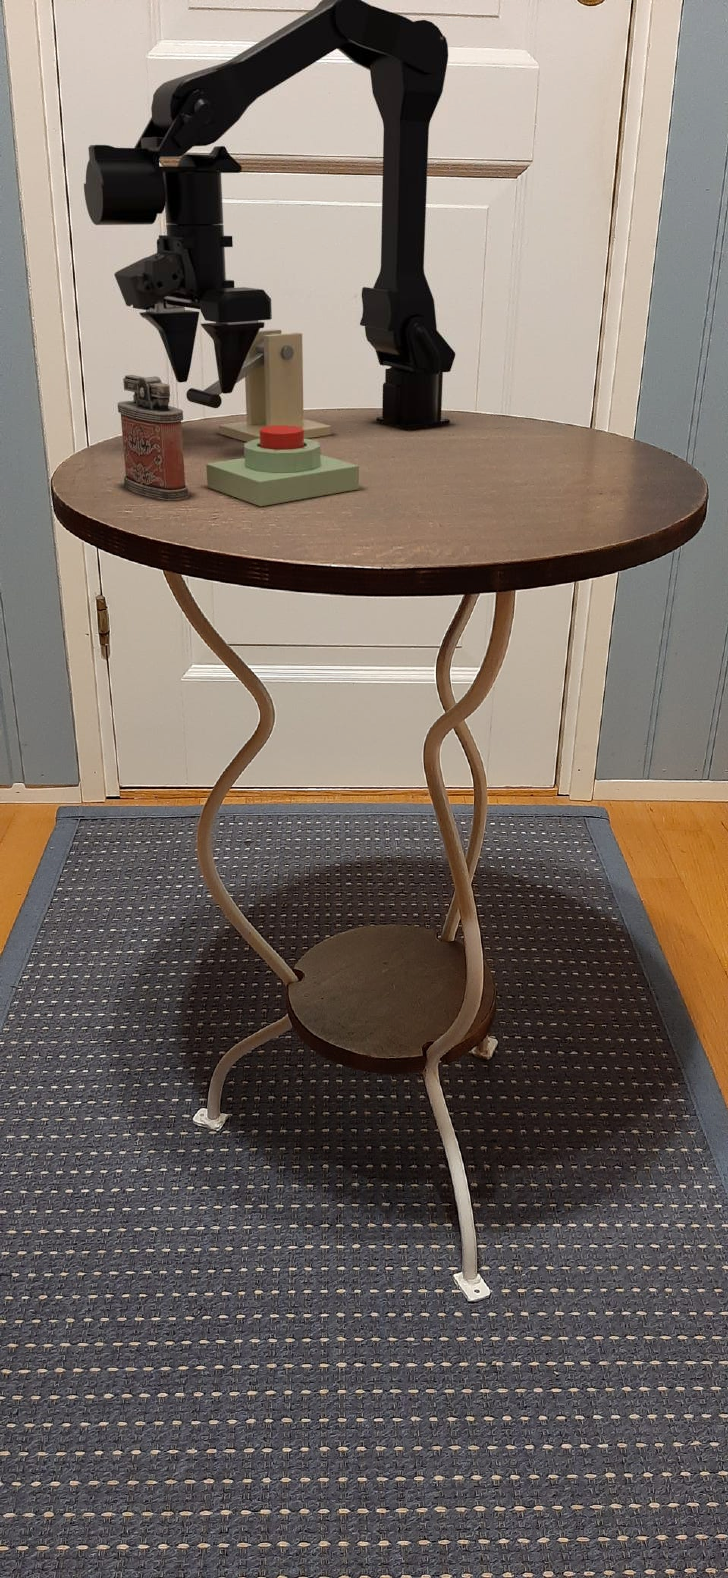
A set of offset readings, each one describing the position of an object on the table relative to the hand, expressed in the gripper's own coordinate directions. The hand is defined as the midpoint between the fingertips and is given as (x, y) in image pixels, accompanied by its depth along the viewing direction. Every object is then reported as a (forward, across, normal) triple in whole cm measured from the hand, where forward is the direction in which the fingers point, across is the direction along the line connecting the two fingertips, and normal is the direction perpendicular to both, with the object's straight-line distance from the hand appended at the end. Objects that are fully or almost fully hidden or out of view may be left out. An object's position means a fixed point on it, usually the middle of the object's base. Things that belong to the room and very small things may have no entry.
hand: (203, 387), depth 122 cm
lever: (0, 0, +5) cm, 5 cm away
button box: (+6, +22, -5) cm, 23 cm away
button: (+2, +22, -5) cm, 23 cm away
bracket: (+6, 0, +9) cm, 11 cm away
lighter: (+6, +16, -15) cm, 23 cm away
